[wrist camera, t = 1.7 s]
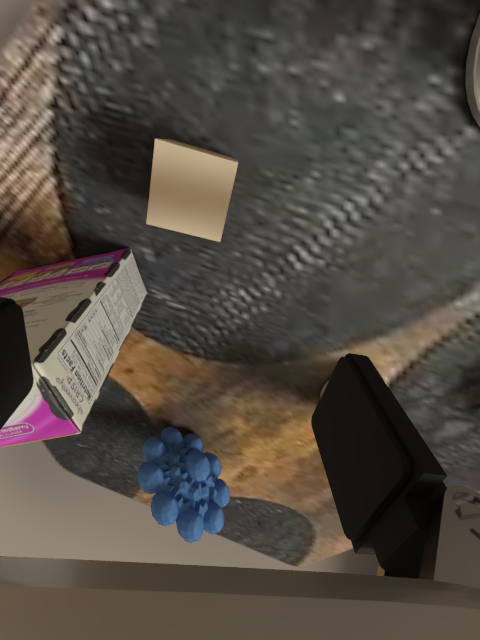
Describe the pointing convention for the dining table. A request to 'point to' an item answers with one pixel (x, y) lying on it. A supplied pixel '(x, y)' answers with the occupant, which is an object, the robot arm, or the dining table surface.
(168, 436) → the grapes
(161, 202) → the beech block
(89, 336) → the candy bar box
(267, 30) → the dining table surface
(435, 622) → the robot arm
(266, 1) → the dining table surface
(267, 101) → the dining table surface
